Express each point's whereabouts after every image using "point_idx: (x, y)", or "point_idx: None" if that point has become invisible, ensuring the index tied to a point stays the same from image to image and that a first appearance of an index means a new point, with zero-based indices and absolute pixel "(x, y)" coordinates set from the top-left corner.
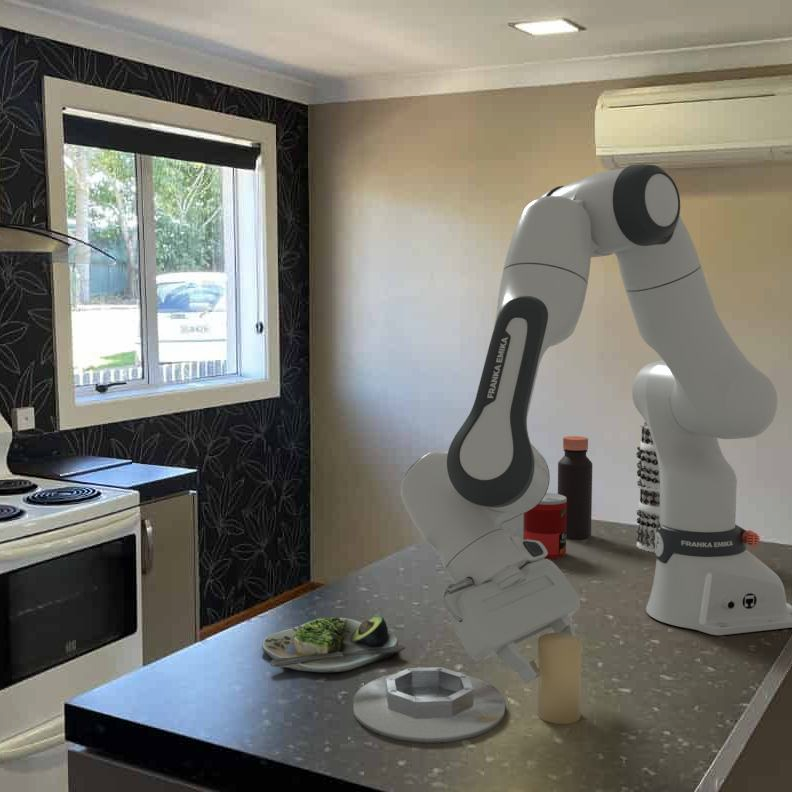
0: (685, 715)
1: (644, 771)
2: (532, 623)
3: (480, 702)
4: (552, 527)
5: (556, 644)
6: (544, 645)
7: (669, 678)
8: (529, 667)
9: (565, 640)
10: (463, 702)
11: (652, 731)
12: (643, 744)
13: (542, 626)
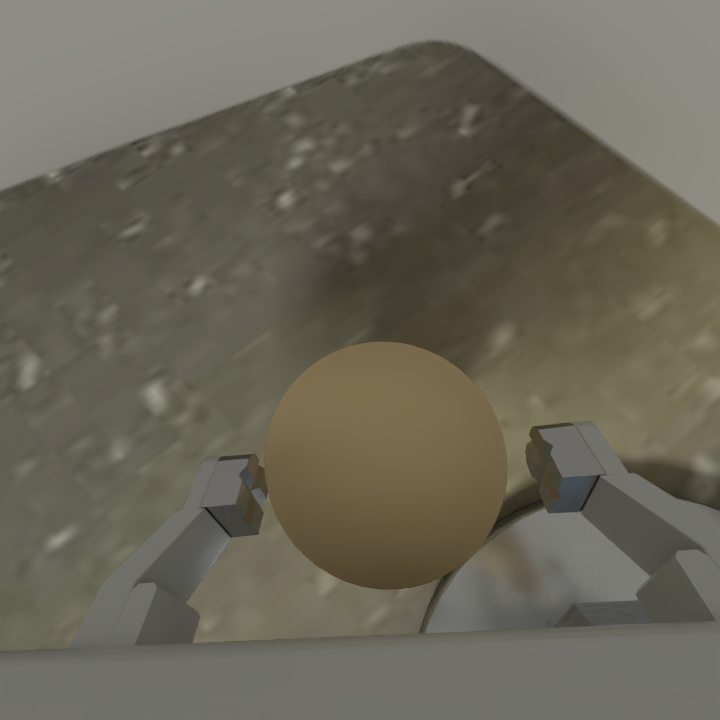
0: (184, 221)
1: (477, 123)
2: (500, 683)
3: (538, 602)
4: None
5: (444, 438)
6: (505, 480)
7: (30, 360)
8: (613, 452)
9: (359, 439)
10: (644, 618)
11: (304, 221)
12: (372, 197)
13: (367, 636)
